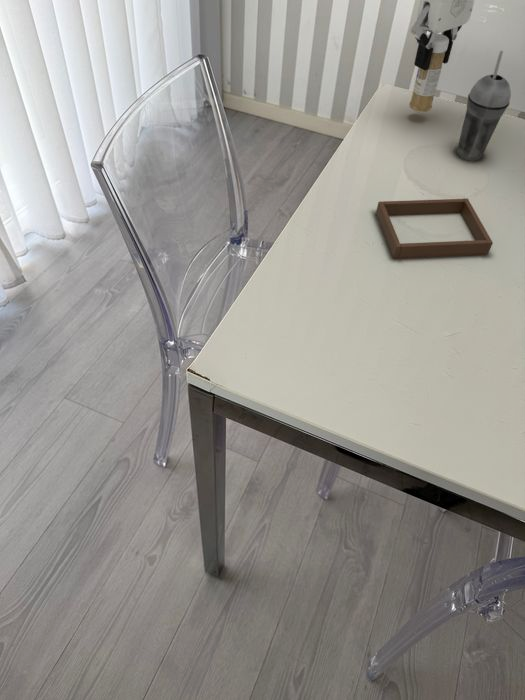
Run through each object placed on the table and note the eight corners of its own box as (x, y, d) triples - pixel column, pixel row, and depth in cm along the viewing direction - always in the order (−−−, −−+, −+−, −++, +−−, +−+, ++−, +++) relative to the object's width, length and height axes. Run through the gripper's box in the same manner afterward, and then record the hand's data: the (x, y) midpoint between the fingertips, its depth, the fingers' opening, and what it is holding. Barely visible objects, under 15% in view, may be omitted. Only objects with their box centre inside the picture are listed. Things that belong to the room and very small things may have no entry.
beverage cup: (495, 161, 109) (538, 53, 94) (469, 172, 107) (509, 63, 91) (466, 143, 113) (503, 37, 98) (441, 153, 110) (475, 46, 95)
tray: (462, 213, 98) (467, 198, 96) (486, 257, 91) (493, 242, 89) (374, 216, 97) (378, 201, 94) (392, 262, 89) (396, 246, 87)
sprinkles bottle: (405, 103, 117) (421, 33, 106) (427, 101, 117) (444, 31, 107) (413, 114, 114) (430, 43, 103) (435, 112, 114) (453, 41, 104)
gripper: (440, -33, 90) (414, 83, 104) (508, -51, 96) (475, 60, 110) (406, -46, 93) (385, 68, 107) (473, -62, 100) (445, 47, 114)
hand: (431, 63), depth 109 cm, fingers closed on sprinkles bottle, 4 cm apart
